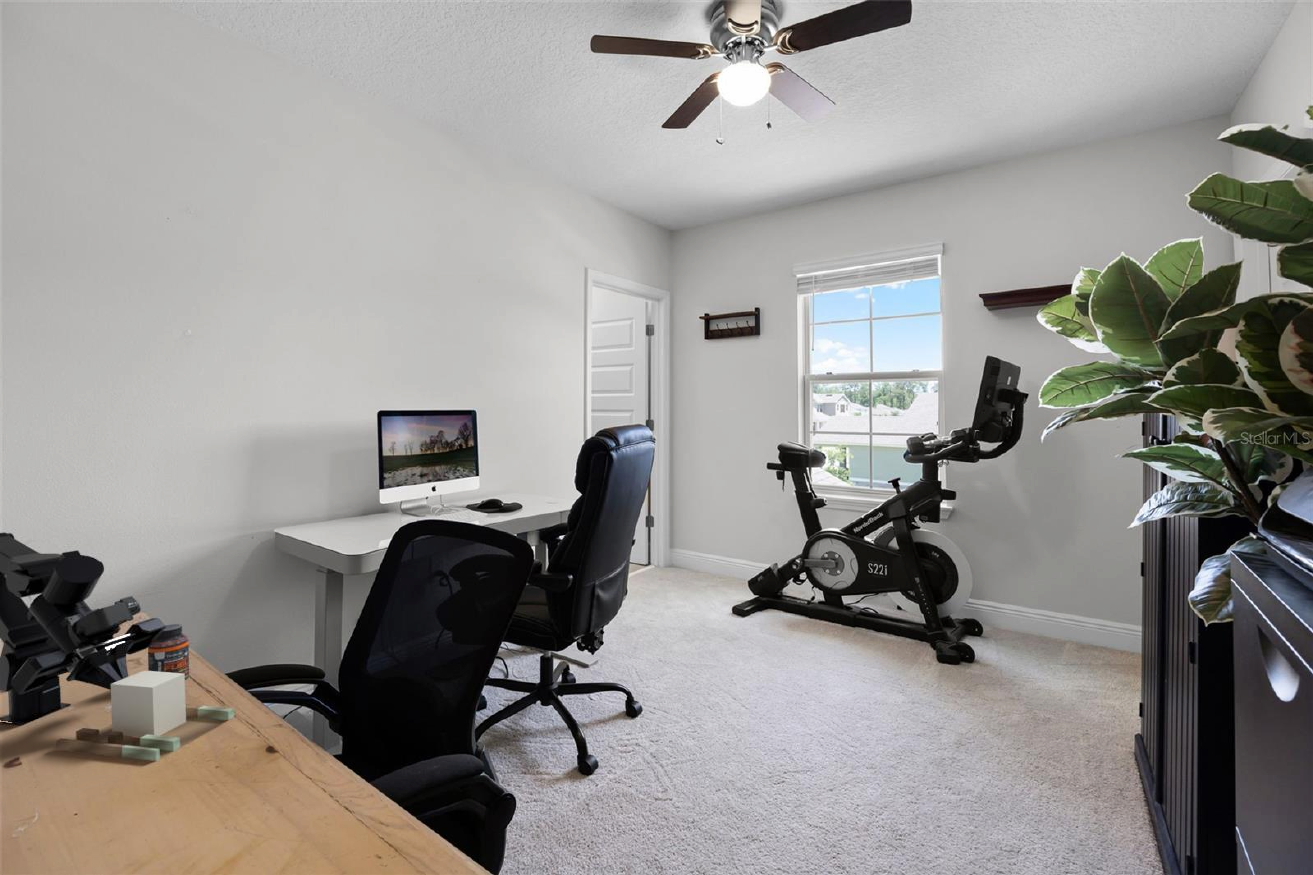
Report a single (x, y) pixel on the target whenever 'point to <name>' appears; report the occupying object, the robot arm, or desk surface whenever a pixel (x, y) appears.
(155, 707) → the block
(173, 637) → the supplement bottle
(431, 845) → the desk surface
